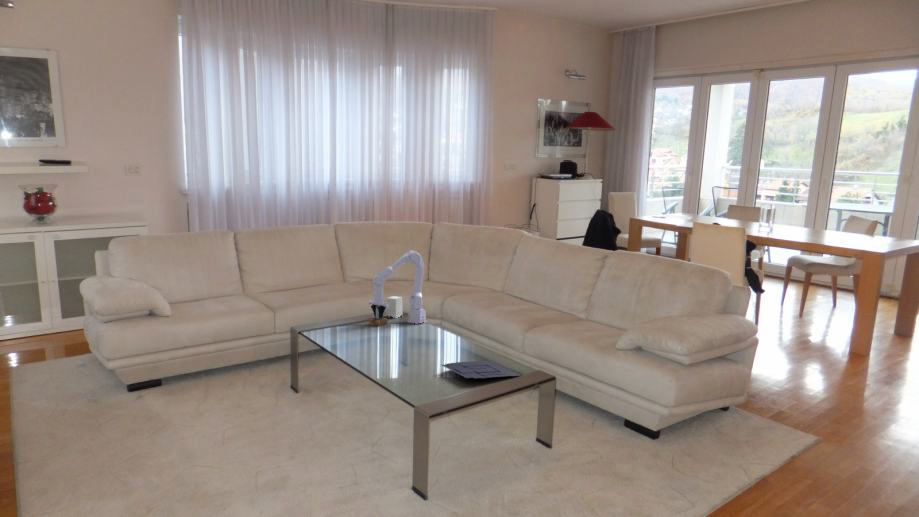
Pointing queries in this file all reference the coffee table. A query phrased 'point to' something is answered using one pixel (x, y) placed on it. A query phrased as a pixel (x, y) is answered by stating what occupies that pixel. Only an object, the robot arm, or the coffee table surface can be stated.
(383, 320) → the brown square frame
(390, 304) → the supplement box
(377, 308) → the dowel
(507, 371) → the grey flat block
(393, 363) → the coffee table surface
